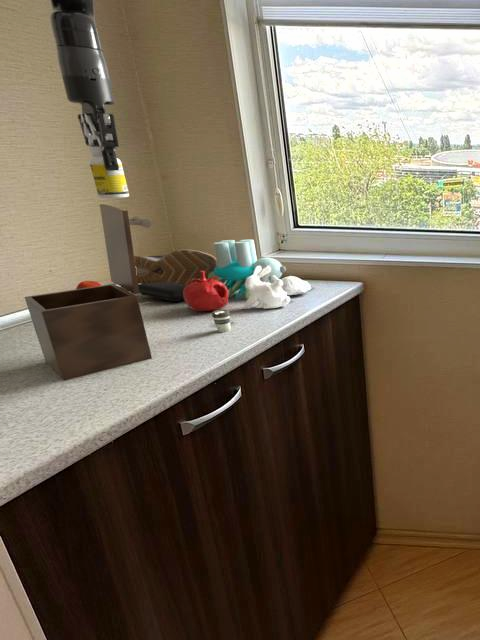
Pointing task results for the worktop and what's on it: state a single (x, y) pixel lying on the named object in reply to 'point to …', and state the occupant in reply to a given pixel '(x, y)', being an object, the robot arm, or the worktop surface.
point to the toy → (241, 265)
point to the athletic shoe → (174, 267)
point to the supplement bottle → (107, 177)
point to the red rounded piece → (87, 284)
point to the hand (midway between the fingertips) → (107, 169)
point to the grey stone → (294, 285)
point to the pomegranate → (206, 294)
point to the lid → (121, 245)
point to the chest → (89, 329)
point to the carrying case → (163, 290)
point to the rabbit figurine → (265, 291)
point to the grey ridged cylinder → (222, 320)
